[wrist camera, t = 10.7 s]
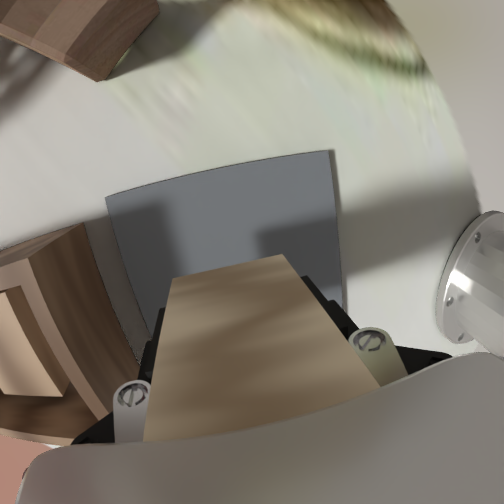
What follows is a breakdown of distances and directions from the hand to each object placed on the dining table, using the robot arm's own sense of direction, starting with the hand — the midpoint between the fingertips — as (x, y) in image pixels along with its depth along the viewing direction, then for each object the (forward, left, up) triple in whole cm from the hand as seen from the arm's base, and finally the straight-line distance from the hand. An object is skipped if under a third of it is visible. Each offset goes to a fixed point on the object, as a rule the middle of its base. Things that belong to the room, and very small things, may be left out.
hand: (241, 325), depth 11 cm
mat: (0, 0, -5) cm, 5 cm away
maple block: (0, 0, -1) cm, 1 cm away
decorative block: (+7, -18, -6) cm, 20 cm away
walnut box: (+17, +1, -5) cm, 18 cm away
